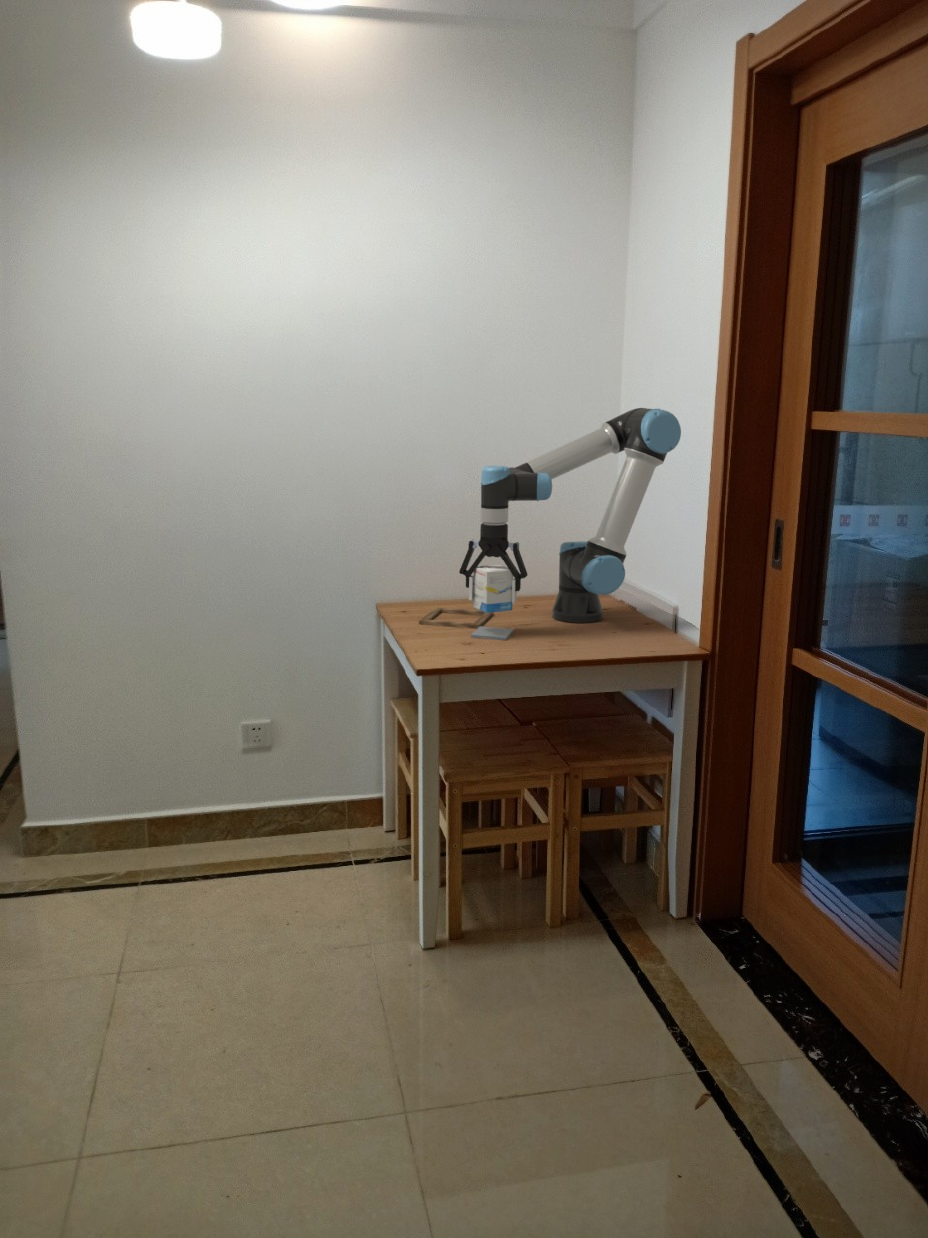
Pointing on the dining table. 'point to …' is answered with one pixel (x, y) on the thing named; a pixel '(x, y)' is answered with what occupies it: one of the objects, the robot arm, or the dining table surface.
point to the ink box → (492, 588)
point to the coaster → (492, 633)
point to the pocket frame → (428, 621)
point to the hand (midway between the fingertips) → (492, 600)
